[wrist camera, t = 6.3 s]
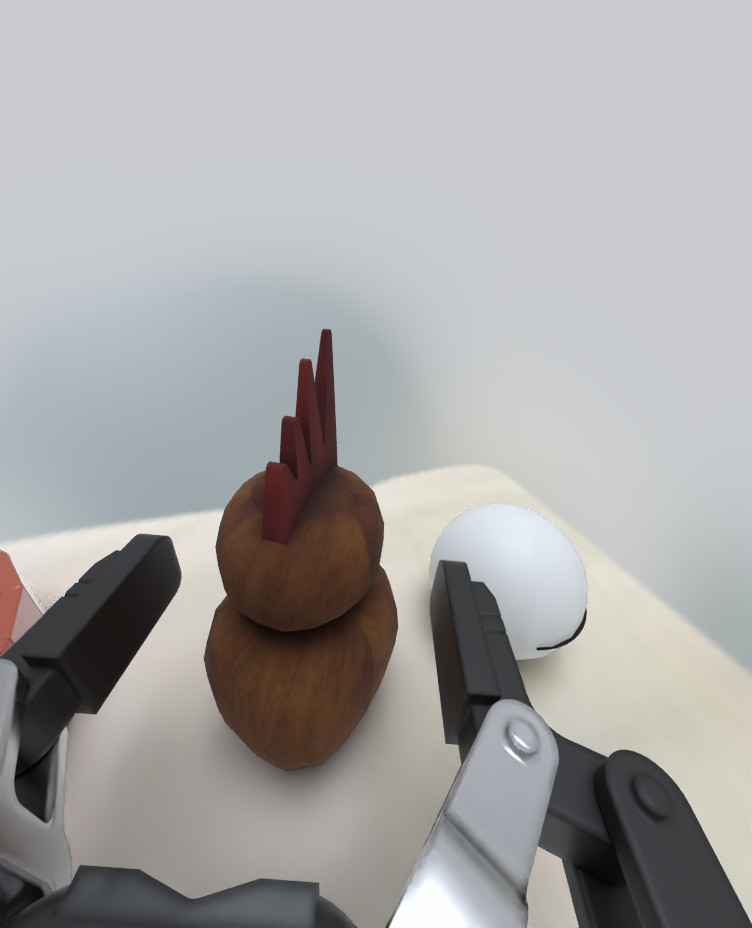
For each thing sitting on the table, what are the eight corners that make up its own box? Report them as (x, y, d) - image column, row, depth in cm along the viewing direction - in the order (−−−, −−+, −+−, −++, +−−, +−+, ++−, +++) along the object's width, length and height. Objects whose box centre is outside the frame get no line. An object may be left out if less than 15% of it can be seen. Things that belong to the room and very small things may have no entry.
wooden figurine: (314, 608, 19) (307, 315, 11) (405, 671, 16) (477, 345, 8) (199, 727, 13) (43, 334, 6) (306, 846, 11) (266, 423, 3)
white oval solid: (484, 728, 14) (539, 620, 11) (395, 594, 20) (411, 493, 16) (616, 634, 19) (688, 535, 15) (513, 546, 24) (547, 458, 20)
